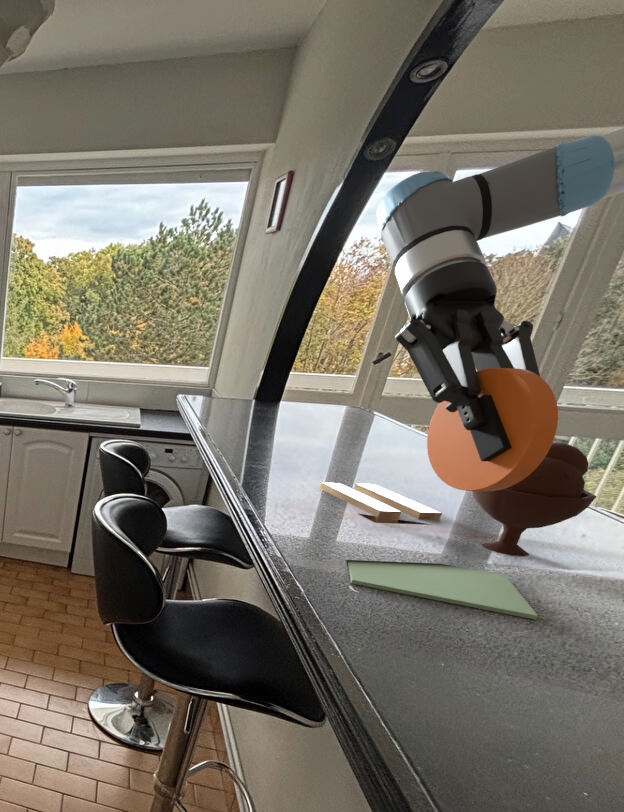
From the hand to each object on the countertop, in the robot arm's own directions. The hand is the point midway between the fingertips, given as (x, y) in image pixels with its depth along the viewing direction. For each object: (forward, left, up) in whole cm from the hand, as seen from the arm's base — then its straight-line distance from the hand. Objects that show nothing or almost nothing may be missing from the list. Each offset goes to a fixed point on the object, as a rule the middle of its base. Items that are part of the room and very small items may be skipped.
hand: (510, 454), depth 61 cm
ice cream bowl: (-8, -19, -16) cm, 27 cm away
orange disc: (+2, -3, -5) cm, 6 cm away
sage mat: (+2, -3, -16) cm, 17 cm away
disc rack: (+5, -31, -16) cm, 36 cm away
